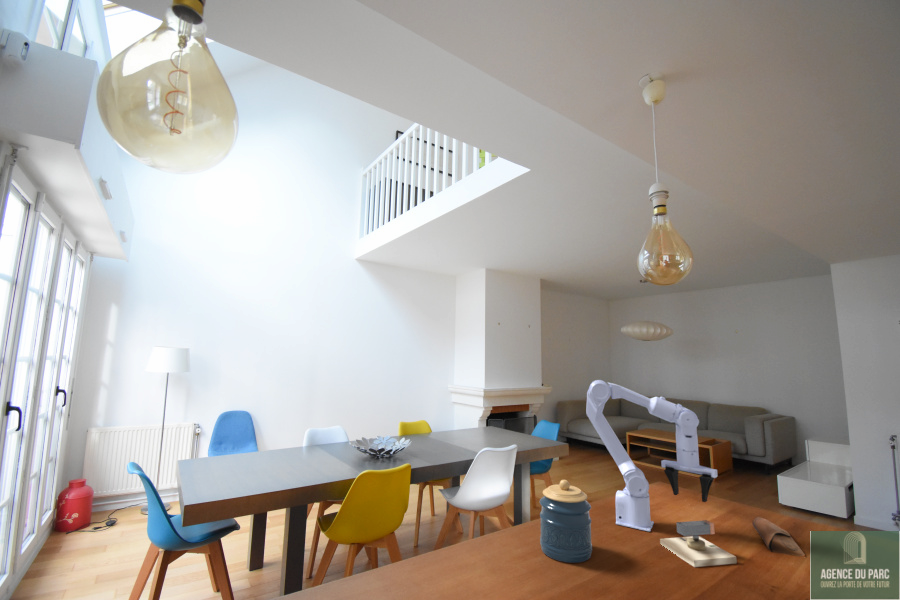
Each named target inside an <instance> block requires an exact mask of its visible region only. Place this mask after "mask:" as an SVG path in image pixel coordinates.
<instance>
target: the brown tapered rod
mask: <svg viewBox="0 0 900 600" xmlns="http://www.w3.org/2000/svg"><path fill="white" fill-rule="evenodd" d="M752 527H753V528H754V529H755V531H756V532H757V534H758V535H759V536H760V538H761V539H762V541H763V543H764V545H765V546H766V548H767V549H768V550H769V551H770V552H771V553H774V554H775V553H776V554H783V555H788V556H793V555H794V556H793V557H800V556H804V555H806V554H805V552H804V551H803V549H802V548H801V547H800V545H798V543H797V542H796V540H795V539H794V538H793V536H791V534H790V533H789V532H788V531H787V530H785V529H783V528H781V527H780V526H779V525H777V524H776V523H774V522H772V521H770V520H768V519H765V518H763V517H761V516H756V517H755V518H753V520H752Z"/></svg>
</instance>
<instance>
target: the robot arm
mask: <svg viewBox="0 0 900 600" xmlns="http://www.w3.org/2000/svg"><path fill="white" fill-rule="evenodd" d="M610 398H611V399H612V400H617V399H622V400H623V399H624V400H626V401H628V402H631V403H633V404H636V405H639V406H640V407H643V408H646V409H647V410H648V413H649V414H650V415H651V416H655V417H657V418H658V419H659V418H660V419H661V420H664V421H666V422H669V423H675V447H676V450H675V451H676V461H675V460H667V459H663V460H661V461H660V462H661V468H664V471H663V472H664V474H665V476H666V478H667V479H668V481H669V484H670V487H671V490H672V493H673V496H677V495H679V493H680V490H679V471H682V472H686V473H692V474H697V475H701V476H699V477H698V479H699V482H700V483H699V484H700V489H701V501H702V503H706V502H707V501H708V499H709V498H708V496H709V493H710V489H711V486H712V484H713V482H714V480H715V479H716V478H717V477H718V469H714V468H711V467H707V466H703V465H700V458H699V457H700V455H699V442H698V441H699V440H698V439H699V438H698V433H697V430H698V429H697V427H698V426H699V424H700V419H698V416H697V414H696V413H695V412H694V411H693V410H691V409H690V408H689V409H688V408H686V407H685V406H683V405H682V404H680V403H677V404H676V403H674V402H671V401H669V400H666V397H663V396H660V397H659V396H654V397H651V398H649V397H647V396H645V395H643V394H640V393H638V392H636V391H634V390H632V389H629V388H626V387H625V386H622V385H619V384H616V383H612V382H608V381H607V382H606V381H605V380H602V379H596V380H592V382H591V383H590V384H589V387H588V390H587V391H586V406H585V407H586V409H585V411H586V412H585V413H586V417H588V419H589V421H590V423H591V425H592V426H593V428H594V429H595V431H596V432H597V434H598V436H599V438H600V439H601V441H602V443H603V444H604V446H605V447H606V449H607V451H608V452H609V454H610V456H611V457H612V458H613V460H614V462H615V464H616V466H617V467H618V469H619V471H620V473H621V475H622V477H623V481H624V482H625V487H624V488H623V489H622V490H620V489H619V490H617V491H616V492H615V503H614V504H615V525H618V526H622V527H626V528H627V527H628V528H632V529H636V530H640V531H646V532H651V530H652V528H653V526H654V521H653V520H651V503H650V500H651V499H650V493H649V490H650V484H649V481H648V479H646V477H645V473H644V472H643V471H642V470H641V469H640V468H639V467H637V466H636V465H635V463H634V462H633V460H632V458H631V457H630V455H629V454H628V452H627V450H626V449H625V448H624V446H623V445H622V443H621V441H620V439H619V438H618V436H617V435H616V433H615V432H614V429H613V428H612V427H611V425H610V423H609V421H608V420H607V419H606V417H605V415H604V413H603V412H604V408H605V404H606V403H607V401H608V400H609V399H610Z"/></svg>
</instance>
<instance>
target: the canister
mask: <svg viewBox="0 0 900 600" xmlns="http://www.w3.org/2000/svg"><path fill="white" fill-rule="evenodd" d="M542 494H543V496H541V498H540V499H539V504H540V506H541V511H540V512H539V517H540V536H539V539H540V541H539V542H540V543H539V544H540V546H541V547H540V548H541V552H542V553H543V554H545V555H546V556H547V557H549V558H550V559H553V560H556V561H558V562H564V563H568V564H569V563H572V564H576V563H583V562H586V561H588V560H590V559H591V558H592V553H593V544H592V525H591V524H592V518H591V517H590V511H591V509H592V506H591V504H590V503H589V501H587V500H588V495H587V493H585V492H584V491H582V490H581V489H580V488H579V487H577V486H574V485H571V484H570V482H569V481H568V480H567V479H561V480H560V481H559V484H557V483H556V484H552V485H549V486H548V487H546V488H544V489H543V490H542Z"/></svg>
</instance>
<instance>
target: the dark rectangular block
mask: <svg viewBox="0 0 900 600" xmlns="http://www.w3.org/2000/svg"><path fill="white" fill-rule="evenodd" d="M676 532H677V534H679V535H680V536H681V535H682V536H683V537H691V536H693V540H694V541H699V537H700V536H701V535H715V534H716V533H715V523H714V522H711V521H709V520H707V519H702V520H692V521H691V520H690V521H678V522H676Z"/></svg>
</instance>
